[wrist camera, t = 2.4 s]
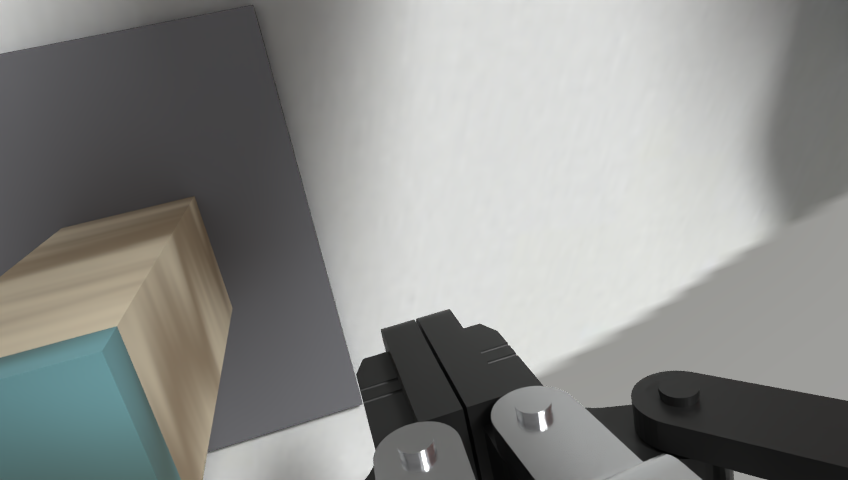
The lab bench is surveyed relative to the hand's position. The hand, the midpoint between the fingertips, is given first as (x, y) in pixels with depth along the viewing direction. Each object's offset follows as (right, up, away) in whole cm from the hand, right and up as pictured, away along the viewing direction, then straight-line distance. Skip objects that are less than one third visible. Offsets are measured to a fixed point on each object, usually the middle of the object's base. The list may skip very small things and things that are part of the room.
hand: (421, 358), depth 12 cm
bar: (-10, +1, +9) cm, 13 cm away
